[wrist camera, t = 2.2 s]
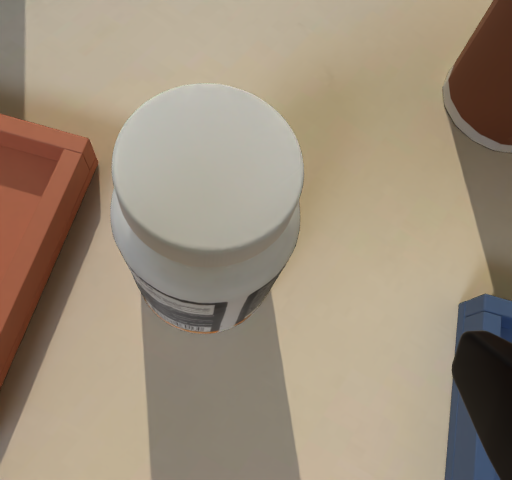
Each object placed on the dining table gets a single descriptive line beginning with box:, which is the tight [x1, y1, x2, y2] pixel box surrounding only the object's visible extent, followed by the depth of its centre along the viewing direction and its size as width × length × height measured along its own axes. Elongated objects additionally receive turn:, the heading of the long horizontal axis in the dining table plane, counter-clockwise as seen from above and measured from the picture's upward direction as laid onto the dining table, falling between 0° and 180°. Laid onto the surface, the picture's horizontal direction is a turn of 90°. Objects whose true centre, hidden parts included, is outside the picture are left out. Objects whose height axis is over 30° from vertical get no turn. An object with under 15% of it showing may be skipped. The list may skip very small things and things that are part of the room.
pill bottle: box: [110, 83, 304, 334], centre depth 16 cm, size 6×6×10 cm
